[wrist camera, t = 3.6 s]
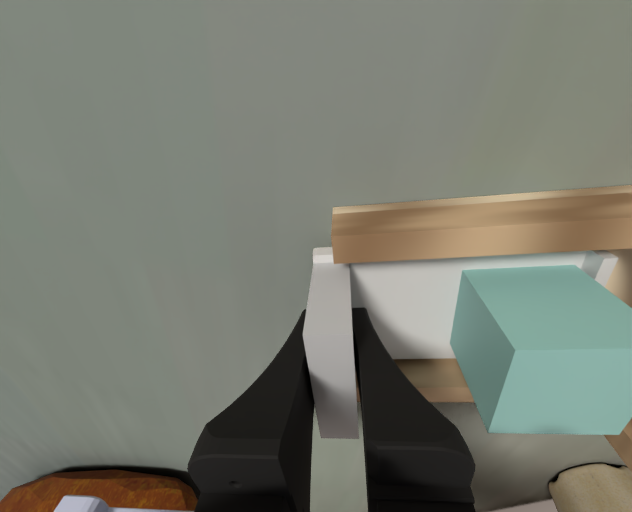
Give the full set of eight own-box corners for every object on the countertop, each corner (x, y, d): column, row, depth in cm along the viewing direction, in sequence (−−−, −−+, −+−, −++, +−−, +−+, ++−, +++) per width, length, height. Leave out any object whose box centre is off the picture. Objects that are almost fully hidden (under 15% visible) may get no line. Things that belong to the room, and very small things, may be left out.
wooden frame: (796, 172, 11) (1453, 296, 5) (668, 352, 16) (896, 536, 10) (332, 207, 13) (325, 326, 7) (345, 357, 18) (348, 511, 12)
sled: (593, 231, 12) (735, 313, 8) (546, 346, 16) (627, 449, 11) (313, 248, 14) (300, 325, 9) (326, 350, 17) (321, 443, 12)
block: (574, 264, 12) (683, 347, 8) (544, 341, 14) (619, 434, 11) (461, 269, 13) (515, 350, 9) (449, 343, 15) (487, 433, 11)
